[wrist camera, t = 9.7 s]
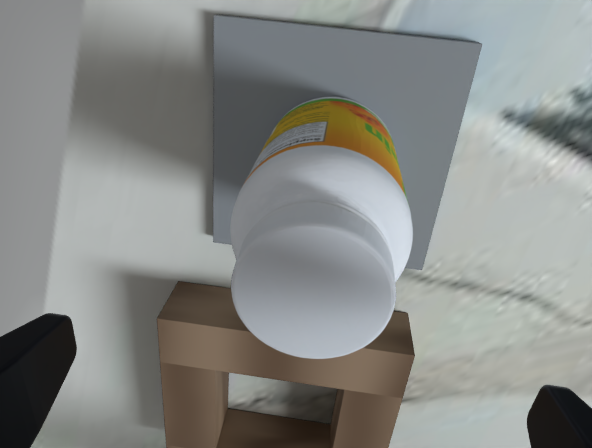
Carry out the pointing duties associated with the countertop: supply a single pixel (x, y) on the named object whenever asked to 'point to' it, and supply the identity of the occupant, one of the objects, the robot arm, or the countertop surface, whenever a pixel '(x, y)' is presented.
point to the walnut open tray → (275, 365)
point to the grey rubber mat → (346, 84)
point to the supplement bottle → (321, 232)
